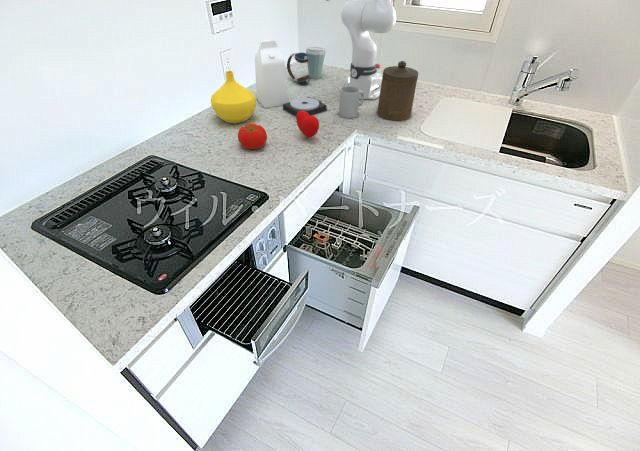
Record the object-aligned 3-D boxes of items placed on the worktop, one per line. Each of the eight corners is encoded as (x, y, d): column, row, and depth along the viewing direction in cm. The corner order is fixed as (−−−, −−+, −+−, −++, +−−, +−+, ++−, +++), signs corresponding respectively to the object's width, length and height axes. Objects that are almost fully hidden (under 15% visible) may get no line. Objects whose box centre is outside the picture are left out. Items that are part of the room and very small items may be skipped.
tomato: (250, 136, 133) (248, 118, 128) (273, 143, 129) (271, 125, 124) (232, 147, 126) (229, 129, 121) (255, 155, 122) (253, 136, 117)
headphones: (322, 85, 174) (293, 79, 186) (321, 53, 164) (290, 49, 177) (314, 88, 170) (285, 82, 183) (312, 56, 161) (281, 51, 173)
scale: (308, 101, 161) (308, 94, 159) (326, 110, 153) (326, 103, 151) (283, 109, 153) (282, 102, 151) (300, 119, 146) (300, 111, 144)
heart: (322, 141, 131) (322, 117, 125) (311, 145, 129) (311, 121, 122) (303, 130, 138) (303, 106, 131) (293, 134, 135) (292, 110, 129)
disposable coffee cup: (307, 73, 191) (306, 44, 181) (325, 74, 190) (326, 45, 180) (304, 79, 183) (304, 49, 173) (324, 80, 182) (325, 50, 172)
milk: (280, 95, 166) (276, 36, 148) (288, 103, 158) (286, 42, 141) (256, 98, 162) (250, 38, 144) (264, 108, 154) (258, 45, 137)
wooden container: (401, 105, 159) (410, 55, 144) (416, 118, 148) (427, 65, 134) (372, 108, 155) (378, 57, 141) (385, 122, 145) (394, 68, 130)
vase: (215, 130, 137) (205, 81, 124) (213, 111, 150) (204, 66, 137) (260, 125, 141) (255, 78, 128) (254, 108, 154) (249, 63, 141)
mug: (345, 119, 146) (347, 94, 139) (334, 112, 152) (336, 87, 144) (367, 114, 151) (370, 89, 144) (356, 107, 156) (358, 83, 149)
